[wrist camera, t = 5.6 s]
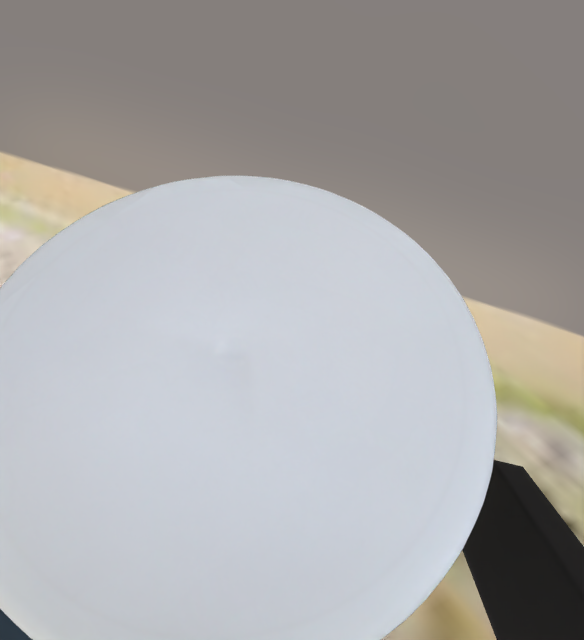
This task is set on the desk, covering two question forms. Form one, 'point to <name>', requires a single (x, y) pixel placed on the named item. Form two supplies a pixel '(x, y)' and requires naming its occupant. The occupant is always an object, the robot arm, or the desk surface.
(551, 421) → the desk surface
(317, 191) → the supplement tub
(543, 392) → the desk surface
